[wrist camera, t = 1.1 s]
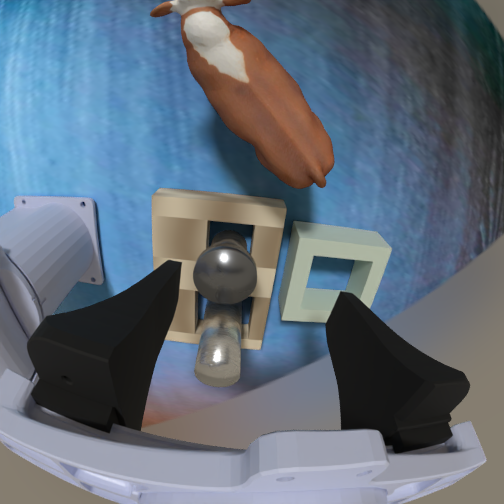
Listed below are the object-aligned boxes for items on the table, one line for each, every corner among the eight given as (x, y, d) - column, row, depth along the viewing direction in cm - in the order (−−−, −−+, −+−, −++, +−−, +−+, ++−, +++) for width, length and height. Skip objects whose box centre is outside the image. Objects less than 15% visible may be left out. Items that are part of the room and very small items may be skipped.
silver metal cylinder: (206, 313, 25) (194, 384, 18) (207, 285, 24) (193, 356, 17) (240, 316, 26) (238, 388, 19) (243, 289, 24) (242, 361, 17)
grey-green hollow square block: (278, 297, 25) (281, 320, 22) (293, 220, 22) (299, 237, 19) (353, 302, 25) (363, 323, 22) (376, 231, 22) (391, 248, 19)
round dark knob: (201, 266, 21) (192, 300, 17) (204, 218, 19) (193, 246, 15) (252, 271, 21) (253, 307, 17) (258, 224, 19) (261, 253, 16)
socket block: (164, 324, 26) (159, 338, 24) (160, 187, 20) (151, 195, 18) (259, 334, 27) (260, 349, 25) (283, 199, 21) (286, 208, 19)
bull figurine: (224, 1, 14) (211, -55, 7) (323, 155, 19) (366, 184, 12) (169, 32, 15) (125, -7, 8) (269, 184, 20) (281, 229, 13)
